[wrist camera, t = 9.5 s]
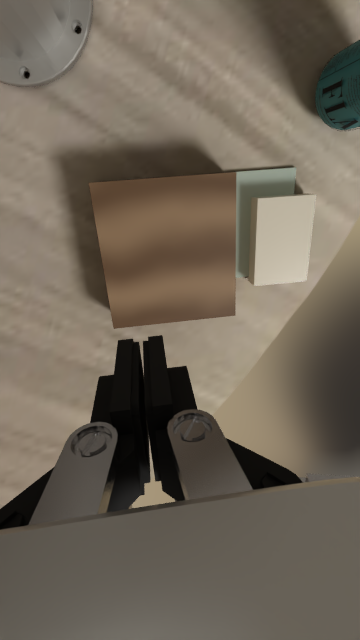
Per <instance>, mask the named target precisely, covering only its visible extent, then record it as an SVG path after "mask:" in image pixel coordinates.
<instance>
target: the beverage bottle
mask: <svg viewBox="0 0 360 640" xmlns="http://www.w3.org/2000/svg"><path fill="white" fill-rule="evenodd" d="M328 62H329V61H328ZM324 68H325V69H323V71H322V74H321V76H320V78H319V81H318V84H317V88H316V97H315V101H316V108H317V111H318V114H319V116H320V118H321V119H322V120H323V121H324V123H326V124H327V125H328V126H330V127H331V128H336V129H340V130H344V131H345V130H348V129H349V130H350V131H351V129H352V128H356V127H360V40H358V41H357V42H355V43H353V44H352V45H350V46H349V47H347V48H345V49H344V50H342V51H340V52H339V53H337V55H335V56H334V57H333V58H332V59H331V61H330V62H329V63H328V64H327V66H326V67H324ZM336 129H335V130H336ZM357 129H358V128H357ZM349 130H348V131H349ZM355 130H356V129H355ZM338 131H339V130H338Z"/></svg>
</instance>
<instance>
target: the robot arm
mask: <svg viewBox="0 0 360 640" xmlns="http://www.w3.org/2000/svg"><path fill="white" fill-rule="evenodd" d="M92 12H93V0H0V82H1V83H4V84H8V85H12V86H17V87H38V86H42V85H46V84H49V83H51V82H53V81H55V80H57V79H59V78H61V77H62V76H63V75H64V74H65V73H67V72H68V71H69V70H70V69H71V68H72V67H73V66H74V64H75V63H76V62H77V60H78V59H79V57H80V56H81V54H82V52H83V49H84V47H85V45H86V43H87V40H88V36H89V32H90V28H91V24H92ZM77 28H80V29H81V30H82V31H81V33H80V34H77V33H76V29H77ZM27 72H28V73H30V77H29V78H28V79H26V77H25V74H26V73H27ZM143 357H144V375H143V368H142V361H141V354H140V346H139V342H133V339H126V340H118V346H117V354H116V362H115V371H114V375H108V376H100V377H99V380H98V385H97V390H96V395H95V401H94V406H93V411H92V416H91V421H90V423H89V424H86V425H83V426H82V427H80V428H78V429H77V430H75V431H74V432H73V433H72V434H71V435H70V436H69V438H68V440H67V441H66V443H65V445H64V448H63V450H62V452H61V454H60V456H59V459H58V461H57V463H56V465H55V467H54V468H52V469H51V470H50V471H48V472H47V473H46V474H45V475H43V476H42V477H41V478H39V479H38V480H37V481H36V482H34V483H33V484H32V485H31V486H29V487H28V488H27V489H25V490H24V491H23V492H22V493H20V494H19V495H18V496H17V497H15V498H14V499H13V500H11V501H10V502H9V503H8V504H6V505H5V506H4V507H2V508H1V509H0V640H360V477H355V476H338V475H322V474H307V475H306V478H299V477H298V476H297V475H296V474H294V473H293V472H291V471H289V470H288V469H286V468H284V467H282V466H280V465H278V464H276V463H274V462H273V461H271V460H269V459H267V458H265V457H263V456H261V455H259V454H257V453H255V452H253V451H251V450H249V449H247V448H245V447H243V446H241V445H239V444H237V443H235V442H233V441H231V440H229V439H227V438H225V437H224V435H223V433H222V431H221V429H220V427H219V425H218V423H217V422H216V420H215V419H214V417H213V416H212V415H210V414H209V413H207V412H205V411H202V410H197V406H196V402H195V398H194V394H193V390H192V386H191V382H190V378H189V374H188V370H187V367H186V366H181V367H173V368H167V364H166V357H165V350H164V344H163V337H162V335H161V336H152V337H148V341H143ZM149 439H150V446H151V453H152V460H153V467H154V474H155V481H161V483H162V490H163V491H164V492H165V493H167V494H168V495H170V496H171V497H172V498H174V499H175V502H171V503H165V504H158V505H152V506H146V507H139V508H132V504H133V502H134V501H135V500H136V499H137V498H138V497H139V496H140V495H144V483H149V482H150V457H149Z"/></svg>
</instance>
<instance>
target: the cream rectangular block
mask: <svg viewBox="0 0 360 640" xmlns="http://www.w3.org/2000/svg"><path fill="white" fill-rule="evenodd" d="M316 195H317V194H292V195H278V196H264V197H251V221H250V250H249V278H248V281H249V282H250V283H251V284H252V285H254V286H259V285H270V284H281V283H292V282H302V281H307V272H308V264H309V255H310V246H311V238H312V229H313V220H314V212H315V203H316Z"/></svg>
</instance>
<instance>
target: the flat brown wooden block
mask: <svg viewBox="0 0 360 640" xmlns="http://www.w3.org/2000/svg"><path fill="white" fill-rule="evenodd" d="M89 188H90V194H91V200H92V206H93V212H94V217H95V223H96V229H97V235H98V240H99V246H100V252H101V258H102V264H103V269H104V275H105V281H106V287H107V293H108V298H109V304H110V310H111V316H112V321H113V327H114V329H115V328H124V327H133V326H142V325H151V324H161V323H170V322H179V321H188V320H197V319H207V318H216V317H225V316H234V315H235V289H236V172H229V173H214V174H201V175H187V176H174V177H160V178H146V179H133V180H119V181H105V182H92V183H89Z"/></svg>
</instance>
